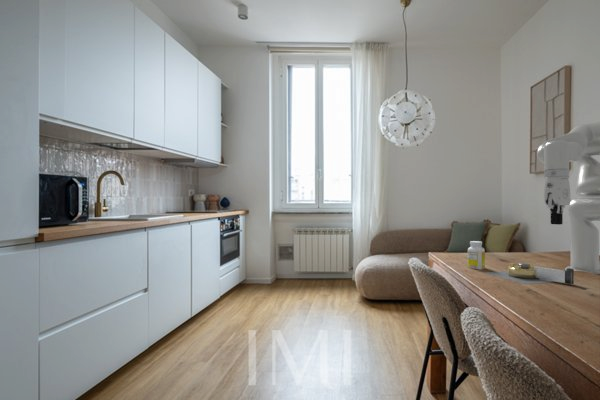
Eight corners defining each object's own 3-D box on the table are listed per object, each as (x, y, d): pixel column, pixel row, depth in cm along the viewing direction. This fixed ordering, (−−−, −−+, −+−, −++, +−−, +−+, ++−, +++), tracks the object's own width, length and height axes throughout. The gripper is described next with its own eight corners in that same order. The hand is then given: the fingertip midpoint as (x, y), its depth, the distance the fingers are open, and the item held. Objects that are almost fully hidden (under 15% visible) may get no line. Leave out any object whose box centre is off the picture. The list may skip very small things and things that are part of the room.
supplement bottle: (481, 269, 155) (481, 240, 155) (487, 272, 149) (487, 242, 149) (465, 269, 156) (465, 240, 156) (471, 272, 149) (471, 242, 149)
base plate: (521, 273, 147) (522, 269, 147) (569, 284, 128) (569, 280, 128) (482, 276, 142) (482, 272, 142) (525, 288, 123) (525, 283, 123)
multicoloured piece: (503, 274, 137) (503, 261, 137) (516, 272, 142) (516, 259, 142) (566, 286, 119) (566, 270, 119) (579, 282, 124) (580, 267, 124)
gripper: (558, 173, 123) (558, 225, 123) (577, 174, 131) (577, 223, 131) (535, 174, 130) (535, 224, 130) (554, 175, 137) (554, 222, 137)
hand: (556, 224), depth 130 cm, fingers closed
